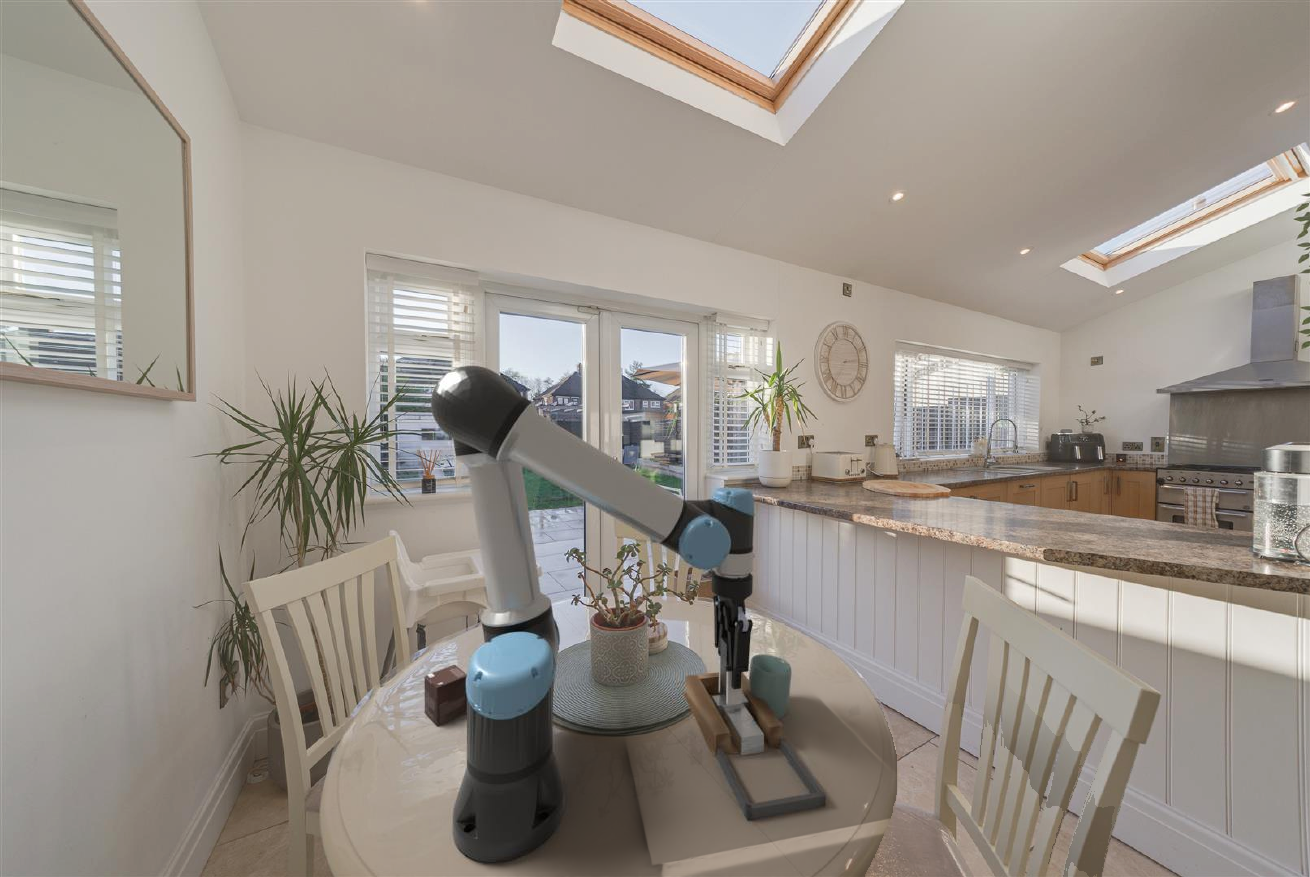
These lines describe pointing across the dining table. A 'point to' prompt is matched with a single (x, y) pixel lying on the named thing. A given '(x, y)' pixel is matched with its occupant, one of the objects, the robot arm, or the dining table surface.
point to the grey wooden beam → (721, 699)
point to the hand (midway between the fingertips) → (729, 697)
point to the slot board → (712, 722)
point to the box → (445, 694)
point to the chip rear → (735, 716)
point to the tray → (778, 805)
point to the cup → (771, 682)
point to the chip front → (747, 737)
